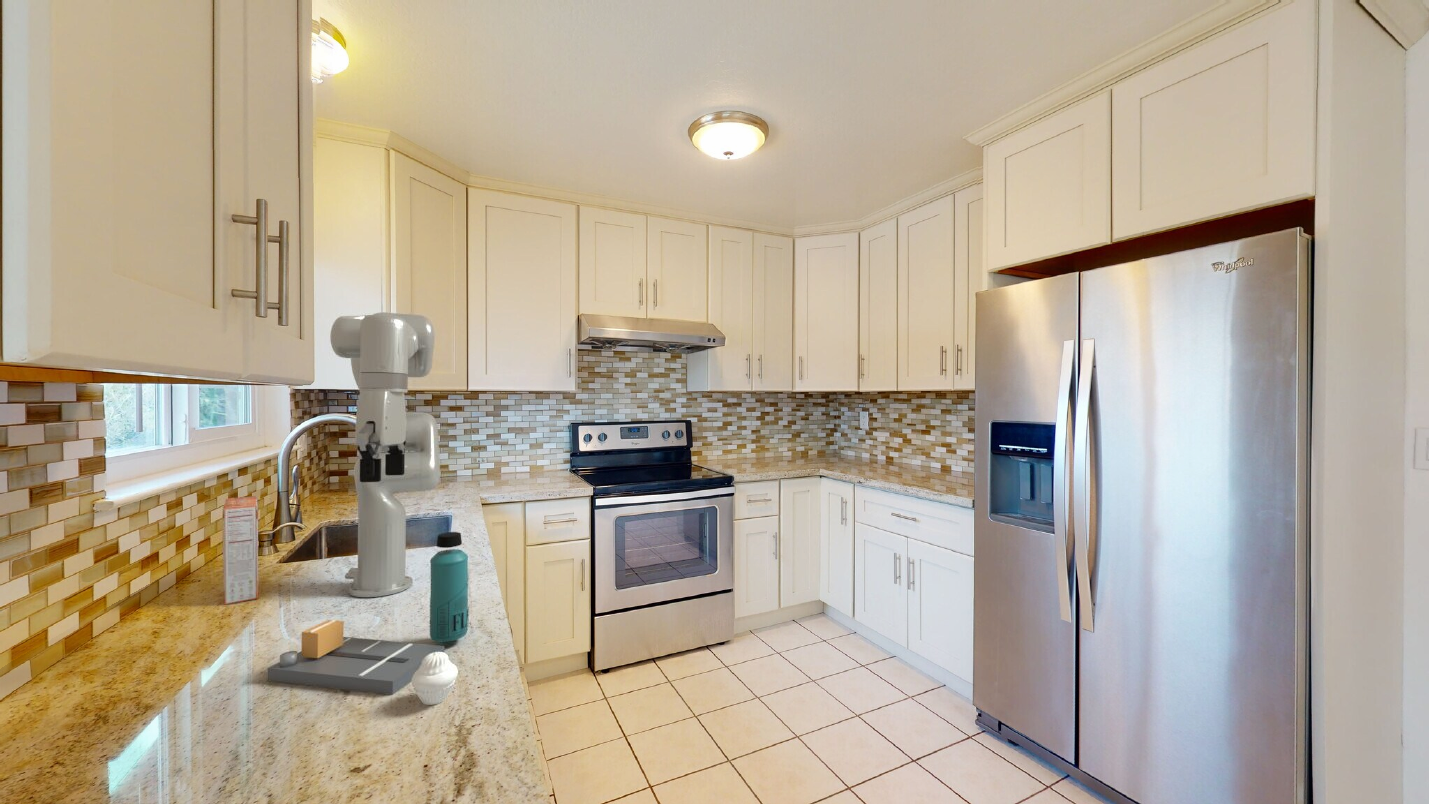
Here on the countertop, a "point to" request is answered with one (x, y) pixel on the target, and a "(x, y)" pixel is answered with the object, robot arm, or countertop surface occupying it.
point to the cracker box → (240, 549)
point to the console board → (355, 666)
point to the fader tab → (322, 638)
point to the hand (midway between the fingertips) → (383, 478)
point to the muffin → (434, 678)
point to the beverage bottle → (449, 590)
